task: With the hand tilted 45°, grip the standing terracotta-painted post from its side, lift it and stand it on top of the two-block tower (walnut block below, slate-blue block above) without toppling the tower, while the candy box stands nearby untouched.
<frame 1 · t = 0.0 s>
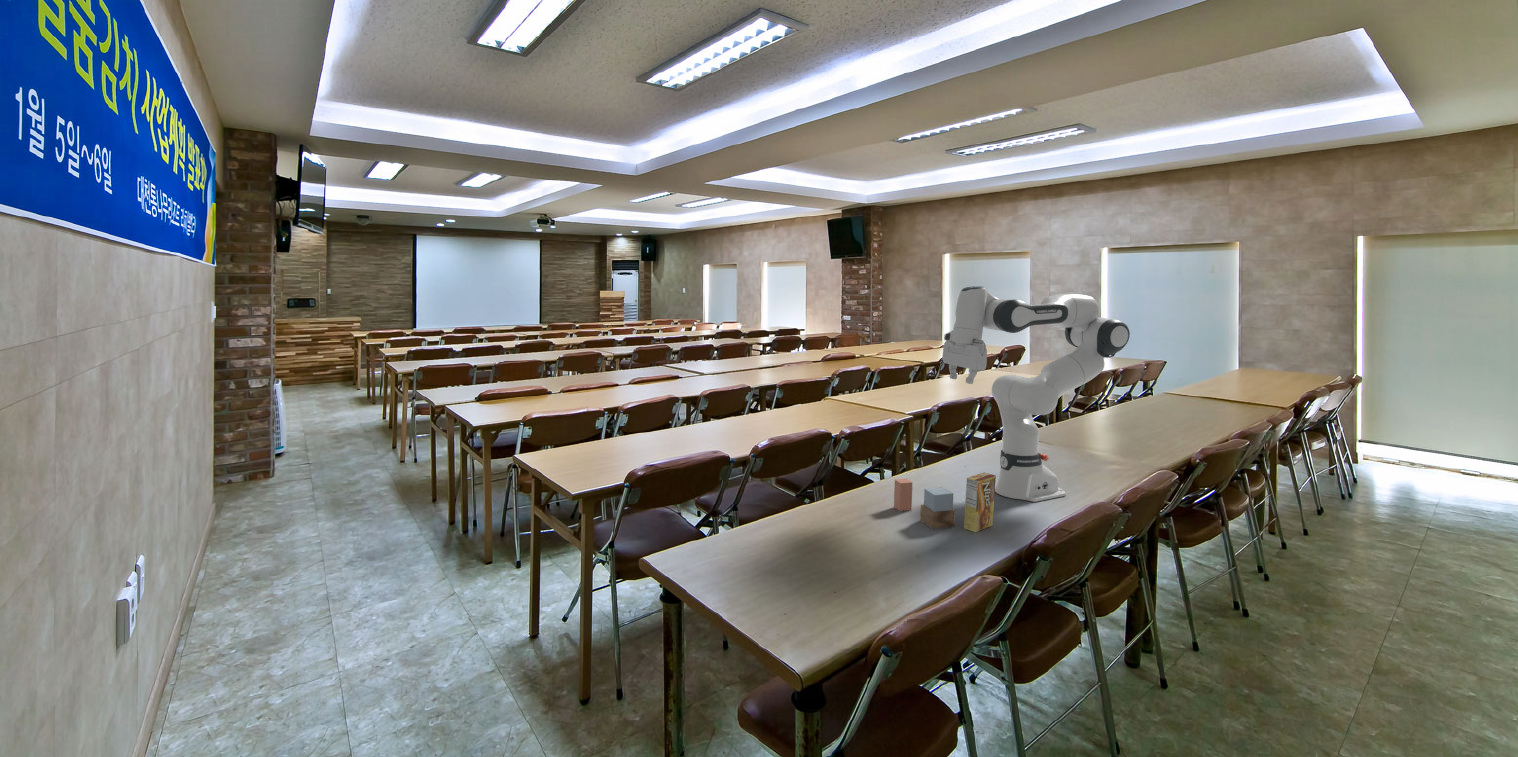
hand: (961, 381, 215), 39 cm above the table, tool pointing down, fingers open, 8 cm apart
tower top: (938, 507, 199), point 5 cm above the table, touching tower base
candy box: (978, 528, 196), on the table
tower base: (936, 523, 199), on the table, touching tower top
post: (902, 508, 212), on the table
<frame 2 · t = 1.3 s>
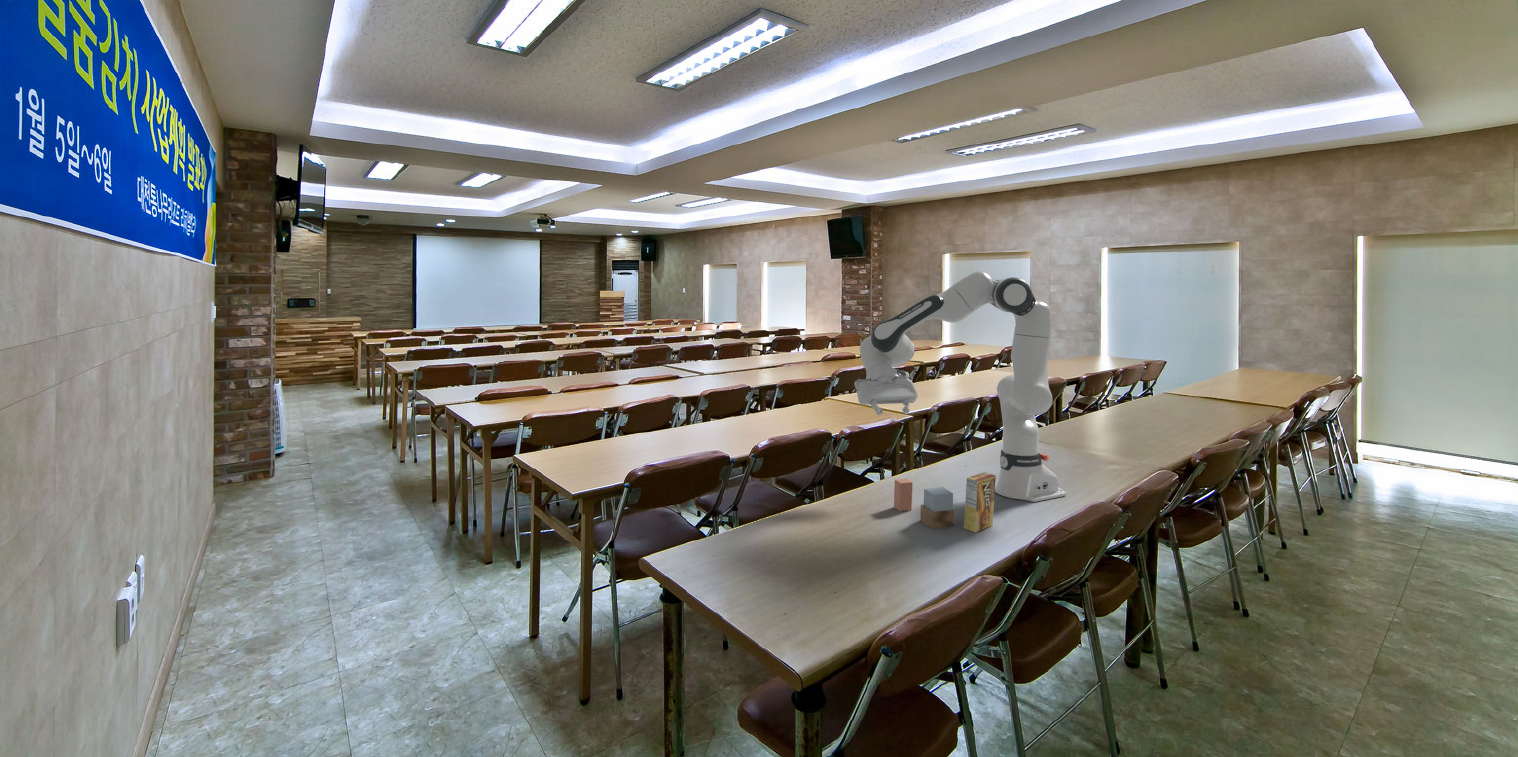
hand: (893, 413, 220), 28 cm above the table, tool tilted 45°, fingers open, 8 cm apart
nothing on the table moved.
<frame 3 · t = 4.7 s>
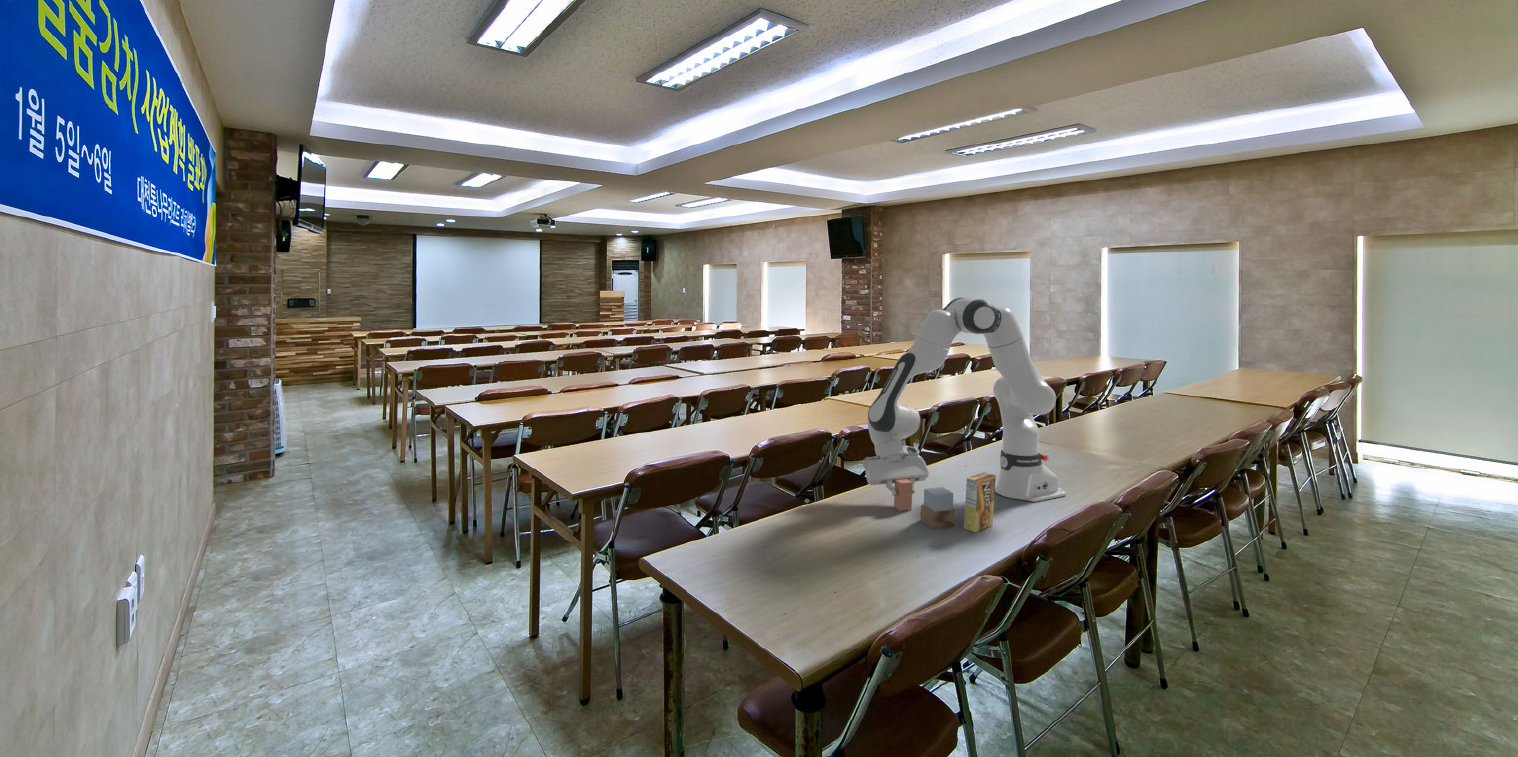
hand: (904, 494, 210), 5 cm above the table, tool tilted 45°, fingers closed on post, 4 cm apart
post: (902, 508, 212), on the table, touching gripper
everything else where it was.
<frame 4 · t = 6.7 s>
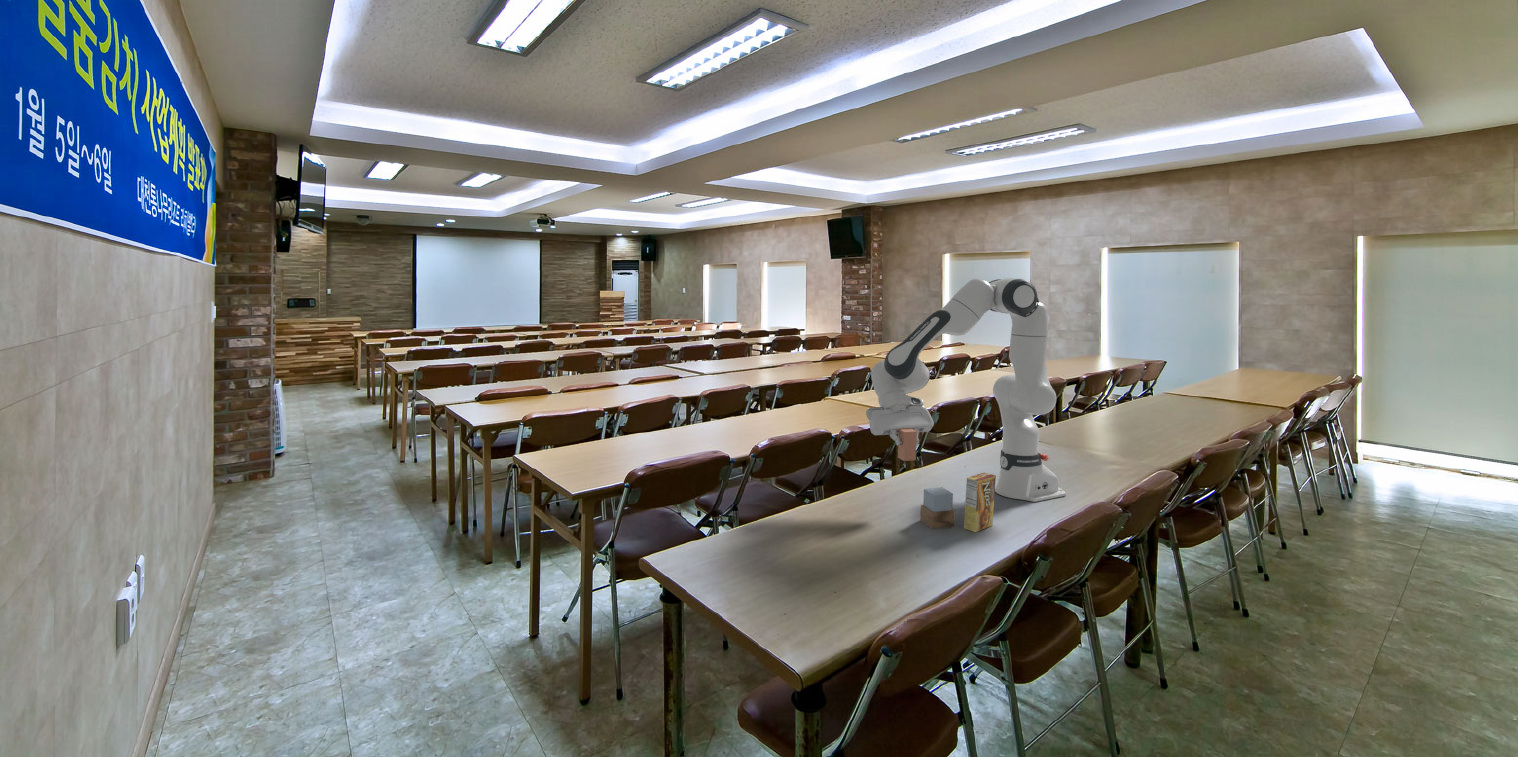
hand: (908, 443, 207), 21 cm above the table, tool tilted 45°, fingers closed on post, 4 cm apart
post: (906, 458, 209), point 16 cm above the table, touching gripper
everything else where it was.
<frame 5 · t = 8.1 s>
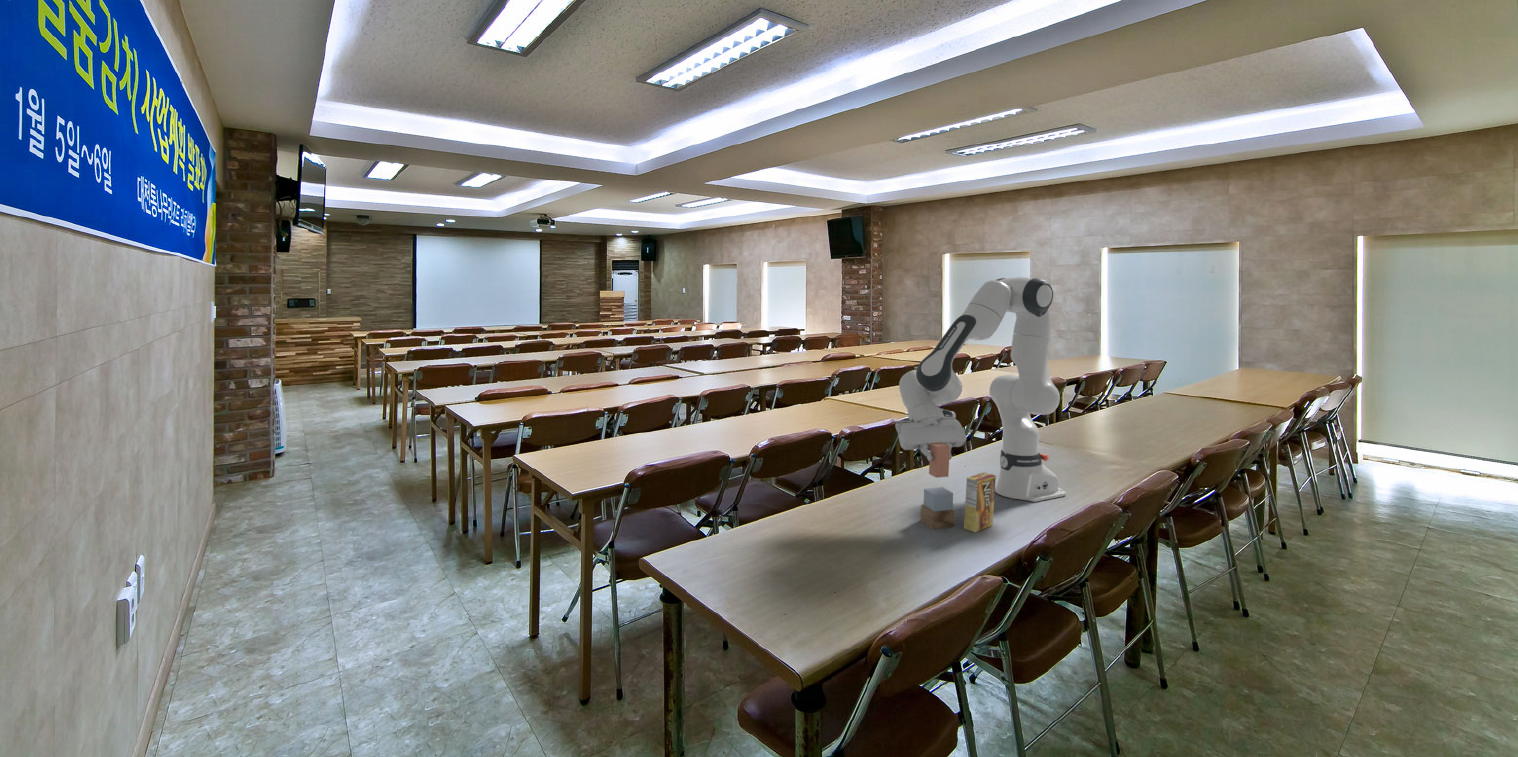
hand: (940, 459, 196), 19 cm above the table, tool tilted 45°, fingers closed on post, 4 cm apart
post: (938, 475, 197), point 15 cm above the table, touching gripper
everything else where it was.
when the fingers open (16 cm above the table, at t = 9.1 s): post drops 1 cm, resting on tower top.
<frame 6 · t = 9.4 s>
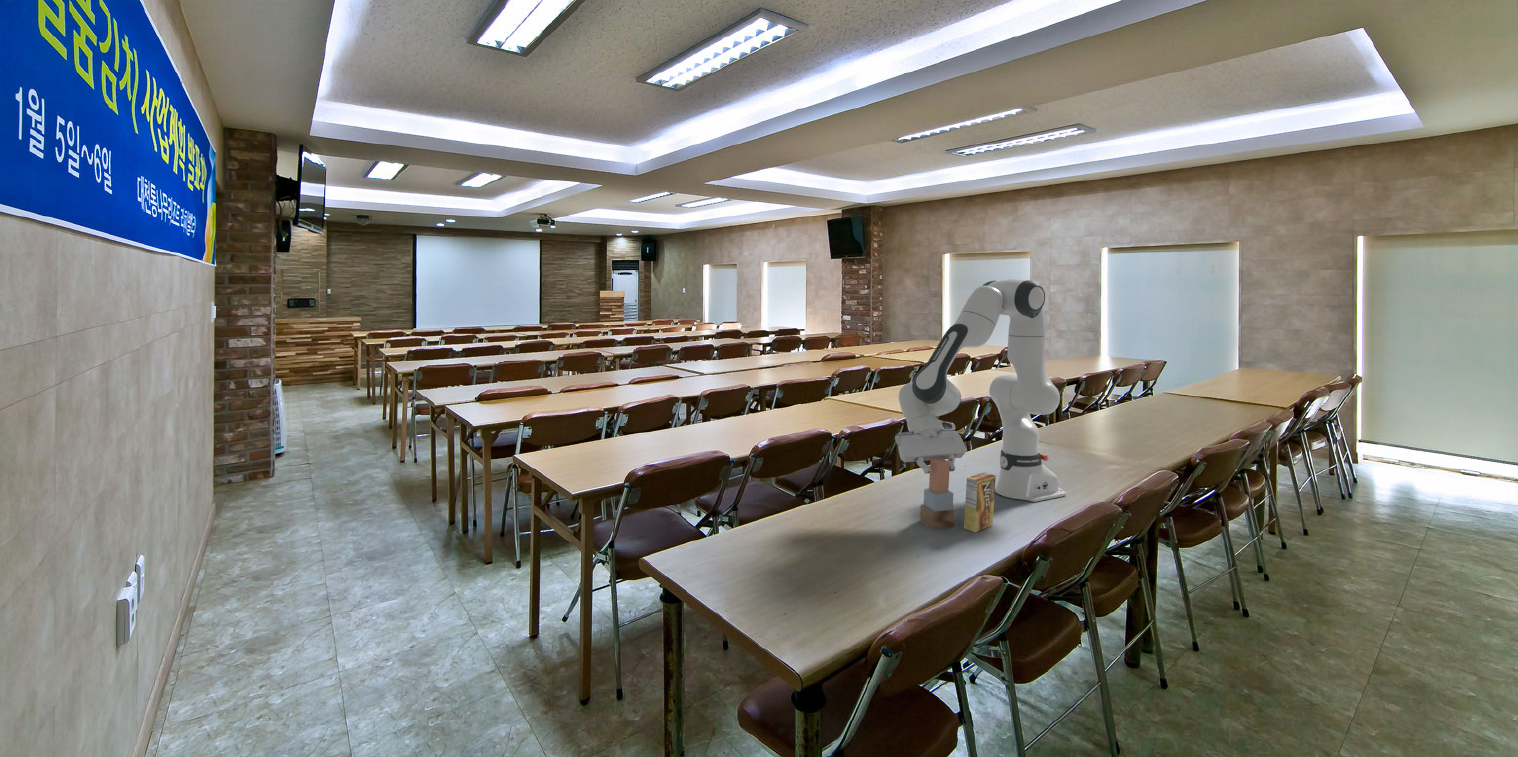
hand: (940, 471, 196), 16 cm above the table, tool tilted 45°, fingers open, 6 cm apart
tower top: (937, 507, 199), point 5 cm above the table, touching post, tower base
post: (938, 490, 198), point 10 cm above the table, touching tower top
everything else where it was.
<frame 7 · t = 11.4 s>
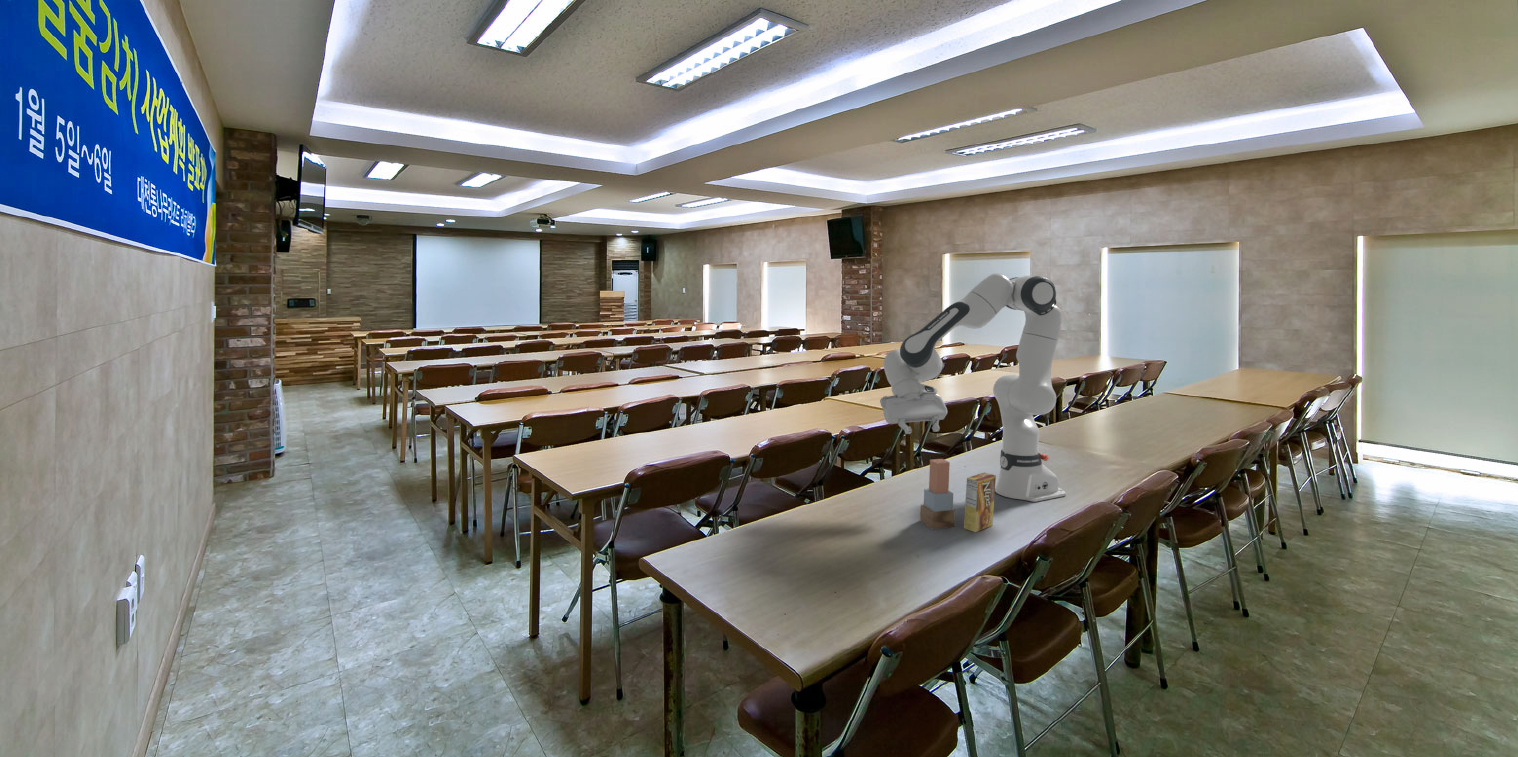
hand: (923, 431, 207), 25 cm above the table, tool tilted 45°, fingers open, 8 cm apart
nothing on the table moved.
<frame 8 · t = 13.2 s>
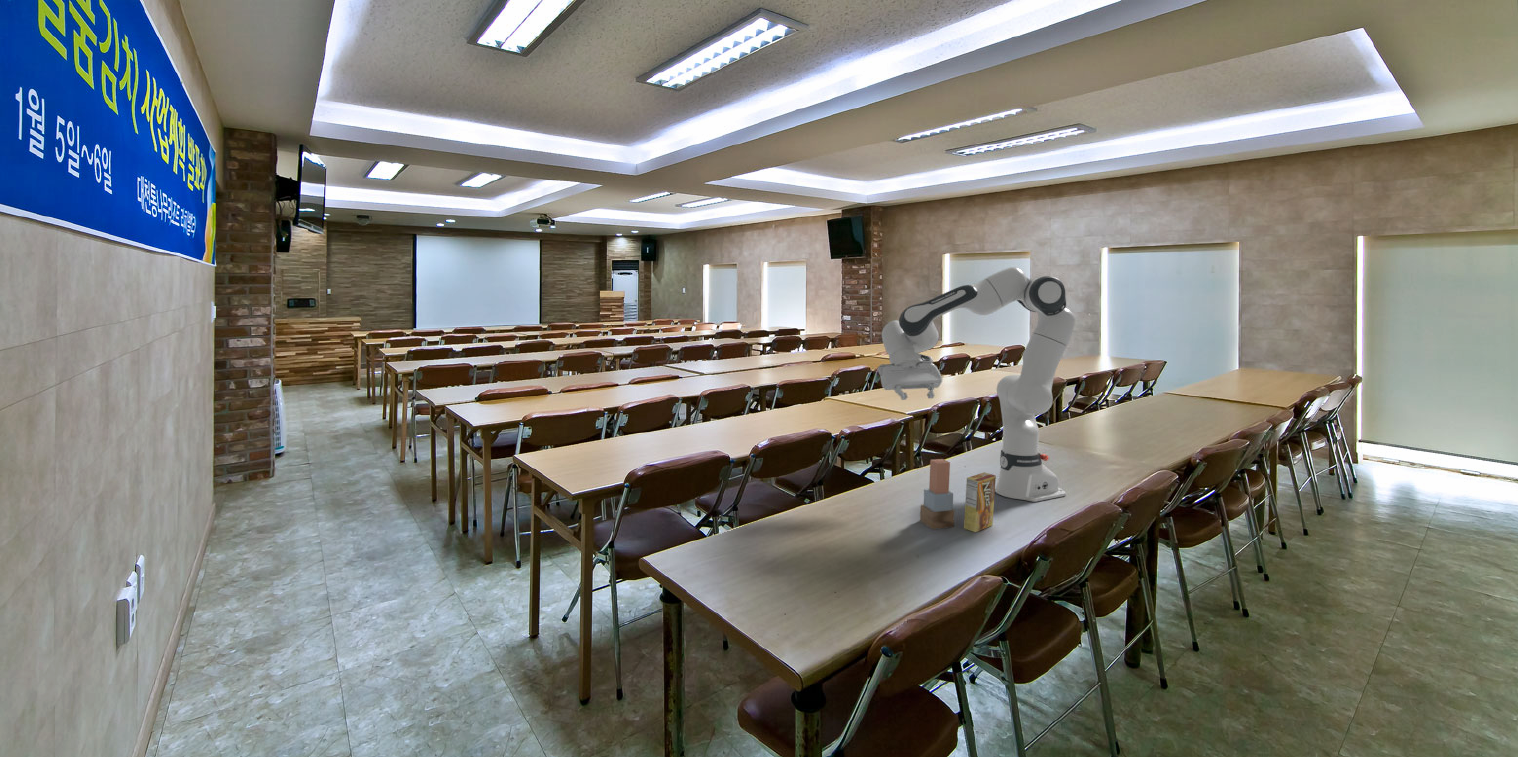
hand: (918, 398, 216), 33 cm above the table, tool tilted 45°, fingers open, 8 cm apart
nothing on the table moved.
at the end: post 0.1 cm off-centre on the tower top, point 5.0 cm above the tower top's base; post tilted 0°; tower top tilted 0° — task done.
